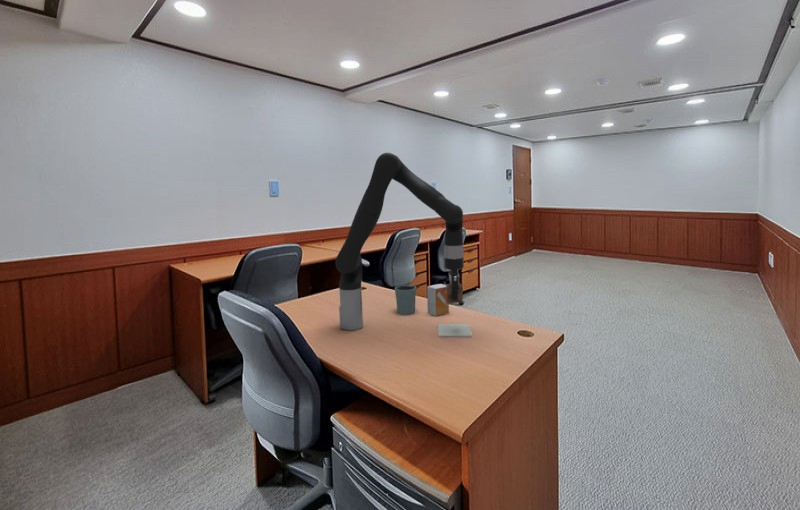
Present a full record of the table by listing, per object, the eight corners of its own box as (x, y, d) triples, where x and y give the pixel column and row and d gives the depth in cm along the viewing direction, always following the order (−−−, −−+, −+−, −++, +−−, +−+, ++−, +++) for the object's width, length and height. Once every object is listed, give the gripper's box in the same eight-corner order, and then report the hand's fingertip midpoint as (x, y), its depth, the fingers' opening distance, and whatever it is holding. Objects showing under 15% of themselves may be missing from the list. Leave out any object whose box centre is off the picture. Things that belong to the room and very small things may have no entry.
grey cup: (402, 316, 173) (401, 291, 172) (391, 311, 182) (390, 286, 180) (420, 312, 178) (420, 287, 177) (409, 307, 187) (408, 283, 185)
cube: (447, 302, 149) (447, 287, 148) (446, 298, 155) (446, 284, 154) (462, 302, 148) (462, 287, 148) (461, 298, 154) (461, 283, 153)
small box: (435, 316, 172) (435, 288, 170) (427, 313, 177) (426, 286, 175) (449, 313, 176) (449, 285, 174) (440, 309, 182) (440, 283, 180)
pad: (438, 336, 148) (438, 335, 148) (438, 325, 161) (437, 324, 161) (472, 336, 147) (472, 335, 147) (468, 325, 160) (468, 323, 160)
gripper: (443, 253, 156) (444, 293, 159) (445, 259, 142) (445, 303, 145) (461, 253, 156) (462, 292, 158) (465, 259, 141) (465, 302, 144)
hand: (454, 297), depth 151 cm, fingers closed on cube, 6 cm apart
